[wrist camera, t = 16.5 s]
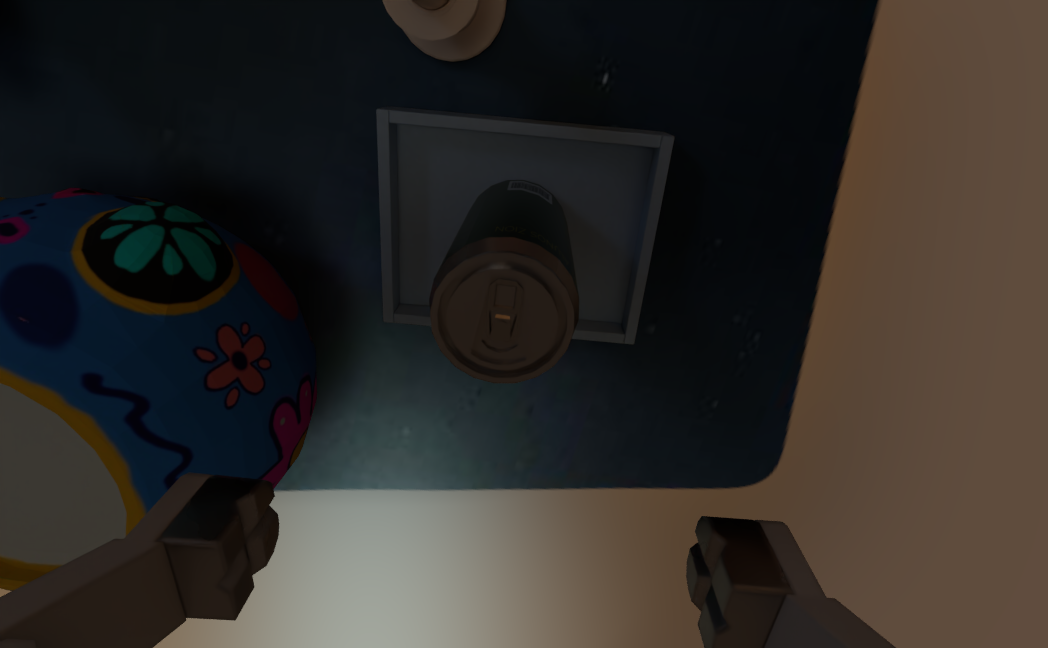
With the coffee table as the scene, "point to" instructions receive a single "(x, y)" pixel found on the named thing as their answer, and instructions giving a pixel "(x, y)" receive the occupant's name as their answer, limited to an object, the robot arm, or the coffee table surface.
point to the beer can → (507, 286)
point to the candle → (449, 25)
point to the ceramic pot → (134, 368)
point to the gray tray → (536, 156)
